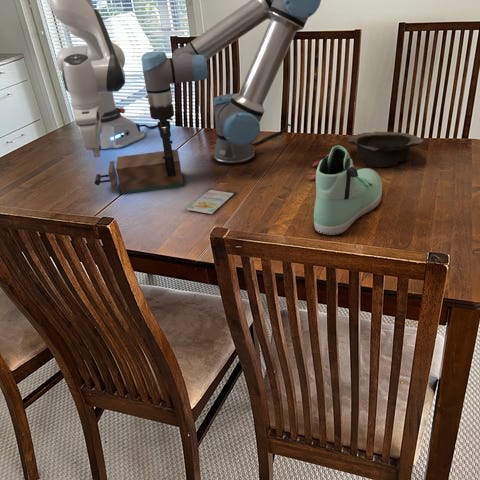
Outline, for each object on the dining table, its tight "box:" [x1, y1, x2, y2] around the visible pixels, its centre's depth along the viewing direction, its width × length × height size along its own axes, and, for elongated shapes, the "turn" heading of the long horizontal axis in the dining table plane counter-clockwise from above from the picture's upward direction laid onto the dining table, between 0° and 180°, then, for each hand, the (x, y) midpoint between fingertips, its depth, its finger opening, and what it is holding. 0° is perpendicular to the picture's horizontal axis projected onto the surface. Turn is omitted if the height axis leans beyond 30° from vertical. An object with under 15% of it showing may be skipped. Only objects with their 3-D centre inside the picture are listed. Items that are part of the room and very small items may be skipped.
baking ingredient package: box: [186, 189, 235, 215], centre depth 148 cm, size 9×1×15 cm
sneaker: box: [313, 145, 383, 236], centre depth 133 cm, size 14×35×20 cm, turn 152°
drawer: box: [94, 160, 119, 193], centre depth 161 cm, size 24×10×7 cm, turn 100°
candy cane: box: [309, 160, 321, 182], centre depth 162 cm, size 6×15×2 cm, turn 145°
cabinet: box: [115, 148, 184, 195], centre depth 162 cm, size 20×11×9 cm, turn 100°
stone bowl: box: [347, 131, 425, 168], centre depth 166 cm, size 25×25×9 cm
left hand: (98, 153), depth 155 cm, fingers open, 4 cm apart
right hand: (170, 169), depth 162 cm, fingers closed on cabinet, 11 cm apart
